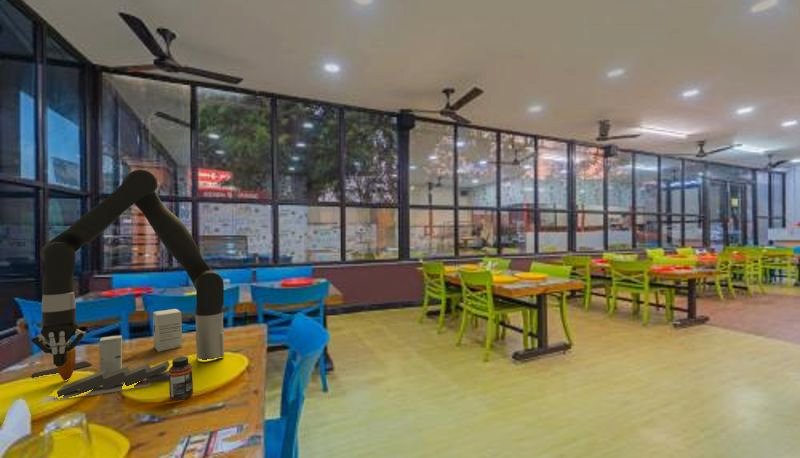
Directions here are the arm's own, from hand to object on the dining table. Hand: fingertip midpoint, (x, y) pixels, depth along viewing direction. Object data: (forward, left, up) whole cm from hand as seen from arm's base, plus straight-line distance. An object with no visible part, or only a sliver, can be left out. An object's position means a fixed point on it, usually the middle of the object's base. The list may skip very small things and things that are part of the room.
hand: (60, 365), depth 113 cm
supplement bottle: (-34, +17, -9) cm, 39 cm away
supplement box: (-21, -40, -9) cm, 46 cm away
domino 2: (-11, 0, -8) cm, 14 cm away
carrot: (+3, -12, -9) cm, 15 cm away
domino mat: (-10, 0, -9) cm, 13 cm away
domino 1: (-5, 0, -8) cm, 9 cm away
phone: (+9, -26, -10) cm, 29 cm away
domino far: (0, 0, -8) cm, 8 cm away
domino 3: (-17, 0, -8) cm, 18 cm away
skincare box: (-8, -16, -9) cm, 20 cm away
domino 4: (-22, 0, -8) cm, 23 cm away
